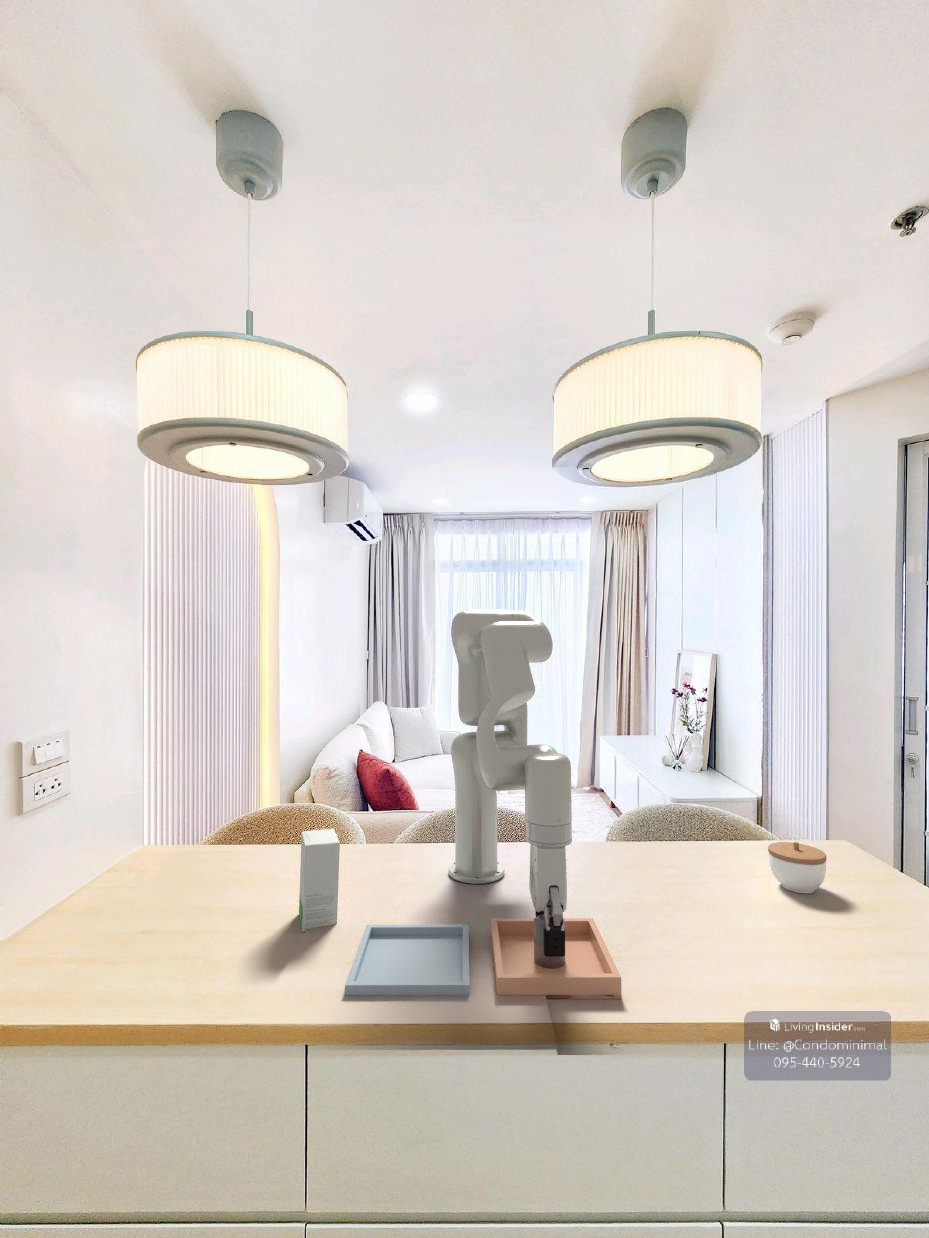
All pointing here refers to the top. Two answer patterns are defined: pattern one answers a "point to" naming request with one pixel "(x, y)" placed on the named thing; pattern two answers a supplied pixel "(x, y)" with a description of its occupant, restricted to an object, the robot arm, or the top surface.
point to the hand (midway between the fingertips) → (549, 939)
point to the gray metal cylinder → (539, 946)
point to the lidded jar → (797, 866)
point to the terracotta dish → (577, 979)
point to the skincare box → (319, 878)
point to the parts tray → (411, 961)
